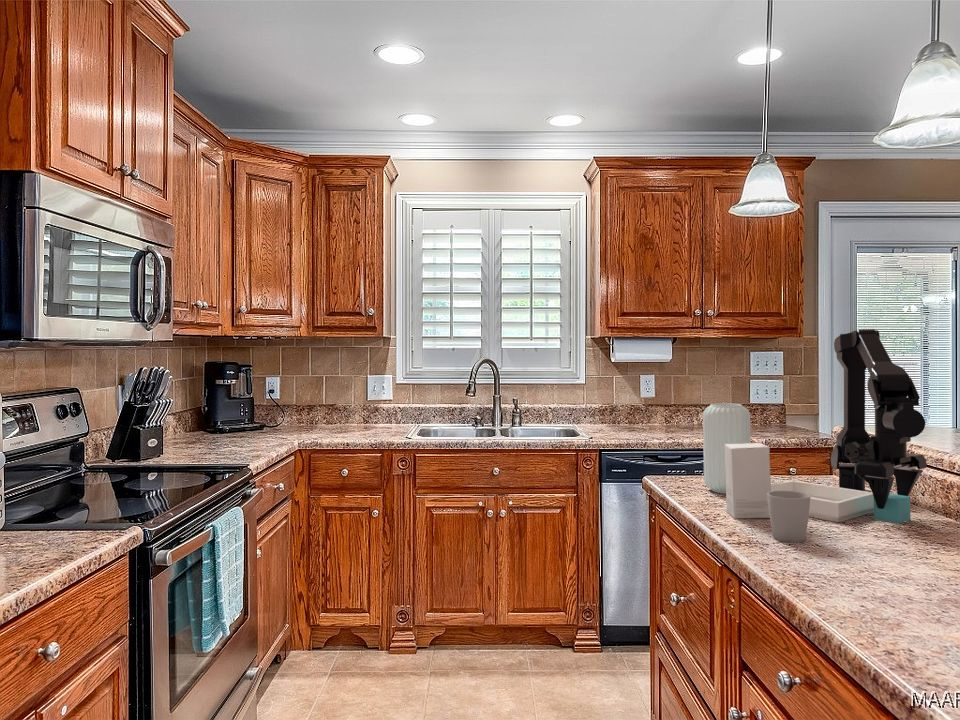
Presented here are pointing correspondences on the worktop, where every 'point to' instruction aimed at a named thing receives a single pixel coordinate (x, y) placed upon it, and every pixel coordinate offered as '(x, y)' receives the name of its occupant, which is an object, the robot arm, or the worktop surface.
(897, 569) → the worktop surface
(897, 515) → the teal block
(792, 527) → the cup
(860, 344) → the robot arm
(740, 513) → the skincare box
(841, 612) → the worktop surface
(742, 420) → the vase
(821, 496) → the grey tray
